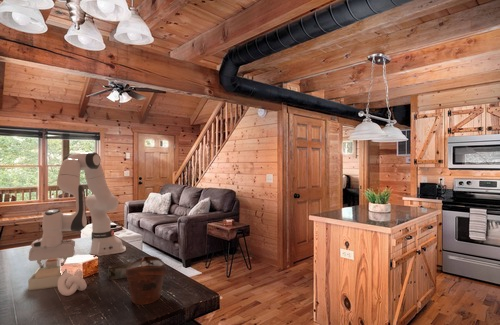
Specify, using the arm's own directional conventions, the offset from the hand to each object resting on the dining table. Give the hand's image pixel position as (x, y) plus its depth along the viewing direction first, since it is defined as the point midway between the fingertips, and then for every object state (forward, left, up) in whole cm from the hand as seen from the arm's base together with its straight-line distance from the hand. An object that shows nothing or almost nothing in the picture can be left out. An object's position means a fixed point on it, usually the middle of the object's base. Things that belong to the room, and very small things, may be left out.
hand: (52, 266), depth 156 cm
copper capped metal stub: (0, 0, -6) cm, 6 cm away
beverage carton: (-37, +9, -7) cm, 38 cm away
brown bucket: (-45, +40, -6) cm, 61 cm away
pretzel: (-13, +21, -6) cm, 26 cm away
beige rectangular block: (0, +9, -6) cm, 10 cm away
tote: (0, +4, -6) cm, 7 cm away
